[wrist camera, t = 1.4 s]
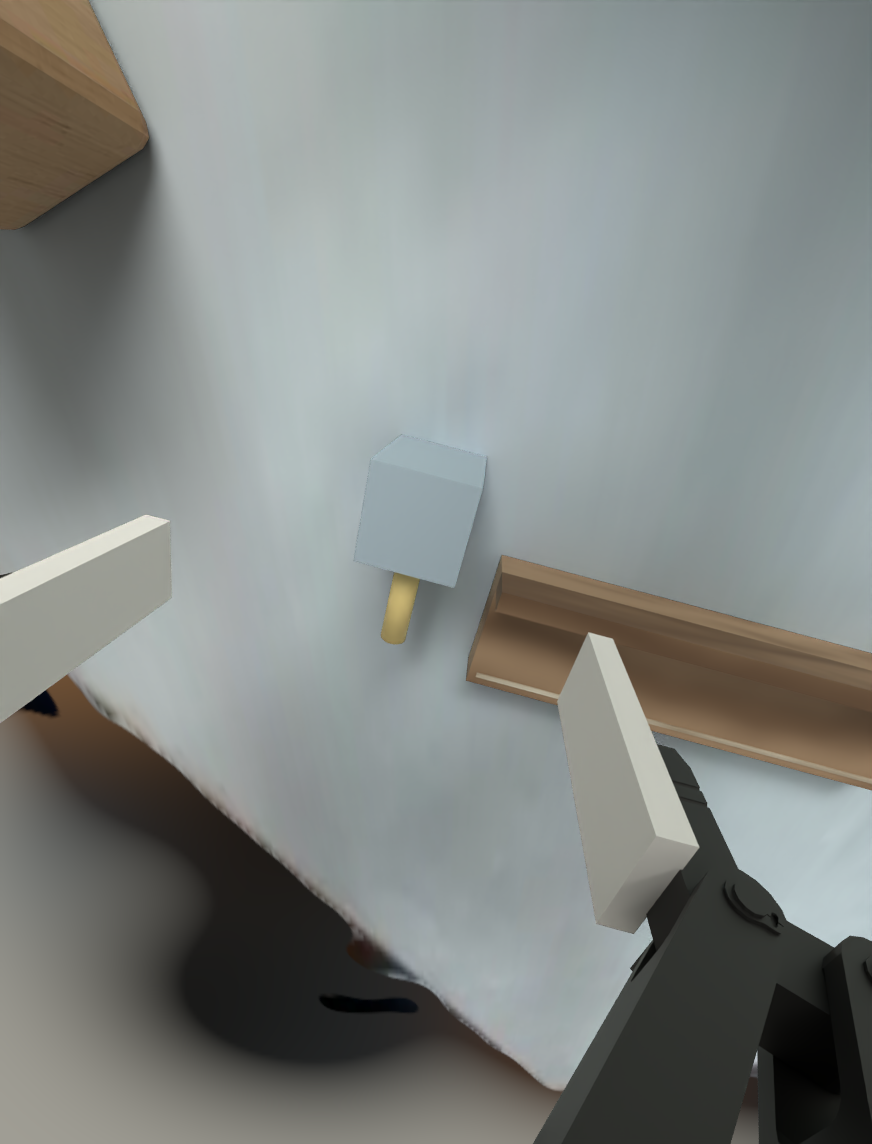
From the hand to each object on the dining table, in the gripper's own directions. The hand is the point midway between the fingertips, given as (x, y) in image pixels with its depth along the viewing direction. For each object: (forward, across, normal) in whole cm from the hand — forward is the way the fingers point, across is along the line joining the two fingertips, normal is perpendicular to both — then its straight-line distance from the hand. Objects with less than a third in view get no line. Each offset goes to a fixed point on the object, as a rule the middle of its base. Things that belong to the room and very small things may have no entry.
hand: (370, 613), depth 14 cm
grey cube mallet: (+15, 0, -2) cm, 15 cm away
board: (+14, +19, -7) cm, 25 cm away
